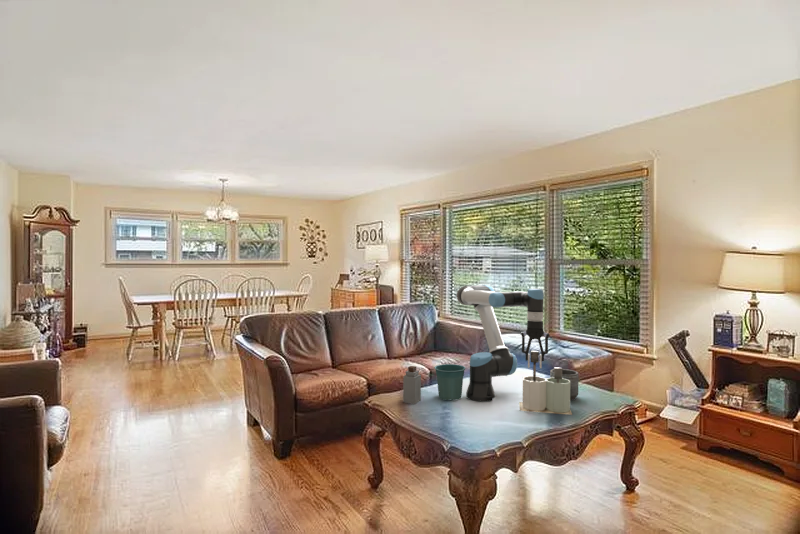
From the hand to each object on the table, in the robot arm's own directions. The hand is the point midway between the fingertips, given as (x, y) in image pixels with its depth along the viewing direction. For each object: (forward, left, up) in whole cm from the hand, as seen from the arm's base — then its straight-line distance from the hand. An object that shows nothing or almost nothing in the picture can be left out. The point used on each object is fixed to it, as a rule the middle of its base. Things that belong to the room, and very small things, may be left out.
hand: (534, 367), depth 231 cm
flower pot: (-43, +10, -21) cm, 49 cm away
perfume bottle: (-61, -2, -21) cm, 65 cm away
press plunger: (0, 0, -8) cm, 8 cm away
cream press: (0, +2, -20) cm, 20 cm away
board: (+5, 0, -21) cm, 22 cm away
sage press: (+11, +2, -20) cm, 23 cm away
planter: (+16, +21, -21) cm, 34 cm away
